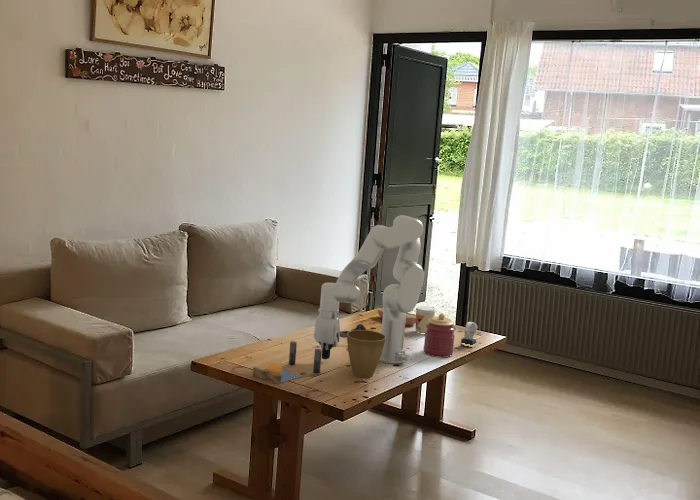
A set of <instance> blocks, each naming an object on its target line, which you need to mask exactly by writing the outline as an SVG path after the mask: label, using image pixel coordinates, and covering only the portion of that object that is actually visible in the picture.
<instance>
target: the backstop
mask: <svg viewBox="0 0 700 500" xmlns="http://www.w3.org/2000/svg"><path fill="white" fill-rule="evenodd" d="M253 375H255V376H254V377H256V376H258V377H257V378H259V377H261V378H260V379H262V378H263V379H262V380H265V379H266V380H265V381H267V380H269V381H268V382H270V381H271V383H273V382H274V384H276V385H281V384H282V383H281V376H280V375H277V374H274V373H271V372H268V371H267V370H264V369H263V368H262V369H261V368H259V367H257V366H254V367H253V369H252V376H253Z"/></svg>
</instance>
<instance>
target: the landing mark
mask: <svg viewBox="0 0 700 500" xmlns="http://www.w3.org/2000/svg"><path fill="white" fill-rule="evenodd" d="M280 376H281V384H282V382H283V383H286V382H288V380H289V381H292V380H291V378H292V379H293V380H295V379H294V377H295V378H296V379H298V377H299V378H302V377H301V376H302V375H301V374H298V373H294V372H292V371H288V370H287V369H286V370H285V369H283V368H282V372H281V374H280Z"/></svg>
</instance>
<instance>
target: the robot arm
mask: <svg viewBox="0 0 700 500" xmlns="http://www.w3.org/2000/svg"><path fill="white" fill-rule="evenodd" d="M423 232H424V225H423V223H422V221H421V220H419V219H418V218H414V217H411V216H408V215H402V214H400V215H398V216H395V218H394V220H393V222H392V226H390V227H388V226H387V225H381V224H377V225H374V226H373V227H372V228H371V229H370V231H369V233H367V236H366V238H365V240H363V241H364V242H363V244H362V245H361V247H360V249H359V251H358V253H357V254H356V255H355V257H354V258H352V260H351V261H349V263H348V264H347V265H345V267H344V268H343V270H342V271H341V273H340V275H339V276H338V278H337V279H336V281H335V282H324V283H322V285H321V289H320V301H319V302H320V304H319V308H318V310H317V312H318V313H319V314H318V315H317V317H316V319H315V324H314V329H313V330H314V331H313V338H314V340H315V342H316V343H318V344H319V345H320V349H321V350H322V353H321V360H327V359H328V360H329V359H330V356H331V349H333V348H337V347H339V342H340V339H341V337H340V331H341V323H340V322H341V321H340V318H339V313H340V310H339V309H340V303H347V304H354V303H357V302H358V301H359V300H360V299H361V296H362V291H361V290H360V288H359V287H358V286H357V285H356V284H355V283H357V282H356V281H357V280H358V278H359V277H360V276H361V275H362V274H363V273H364V272H367V271H369V270H371V269H374V268H375V267H376V265H377V263H378V261H379V260H380V258H381V256H382V254H383V252H384V251H385V250H391V249H395V248H398V247H399V249H398V252H397V257H396V260H395V263H394V265H393V270H392V275H393V277H394V279H395V280H397V281H398V282H399V283H400V284H398V283H393V284H392V283H391V284H389V285H388V286H387V285H386V287H385V288H384V290H383V293H382V308H383V318H382V322H381V332H380V333H381V334H383V335H385V336H386V340H385V344H384V348H383V351H382V354H381V357H380V360H379V362H381V363H385V364H392V365H394V364H395V365H396V364H397V365H398V364H403V363H405V362H409V360H410V357H411V356H410V355H409V354H406V350H405V349H404V341H405V332H406V331H405V330H406V325H405V323H406V313H411V312H412V311H413V310H415V309H416V306H417V304H418V301H419V297H420V295H421V292H422V289H423V286H424V285H423V284H424V281H425V272H424V269H423V267H422V266H421V265H420V264H418V261H419V257H420V252H421V248H422V247H421V245H422V244H421V236H422V235H423V234H424V233H423Z"/></svg>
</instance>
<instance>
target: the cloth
mask: <svg viewBox="0 0 700 500" xmlns="http://www.w3.org/2000/svg"><path fill="white" fill-rule="evenodd" d="M353 330H367V328H366V327H365V326H364V324H363V323H359V324H357V325H356V327H355V328H353V329H351V330H350V331H353ZM348 332H349V330H342V331H341V330H340V338H344V339H345V338H347V333H348Z"/></svg>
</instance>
